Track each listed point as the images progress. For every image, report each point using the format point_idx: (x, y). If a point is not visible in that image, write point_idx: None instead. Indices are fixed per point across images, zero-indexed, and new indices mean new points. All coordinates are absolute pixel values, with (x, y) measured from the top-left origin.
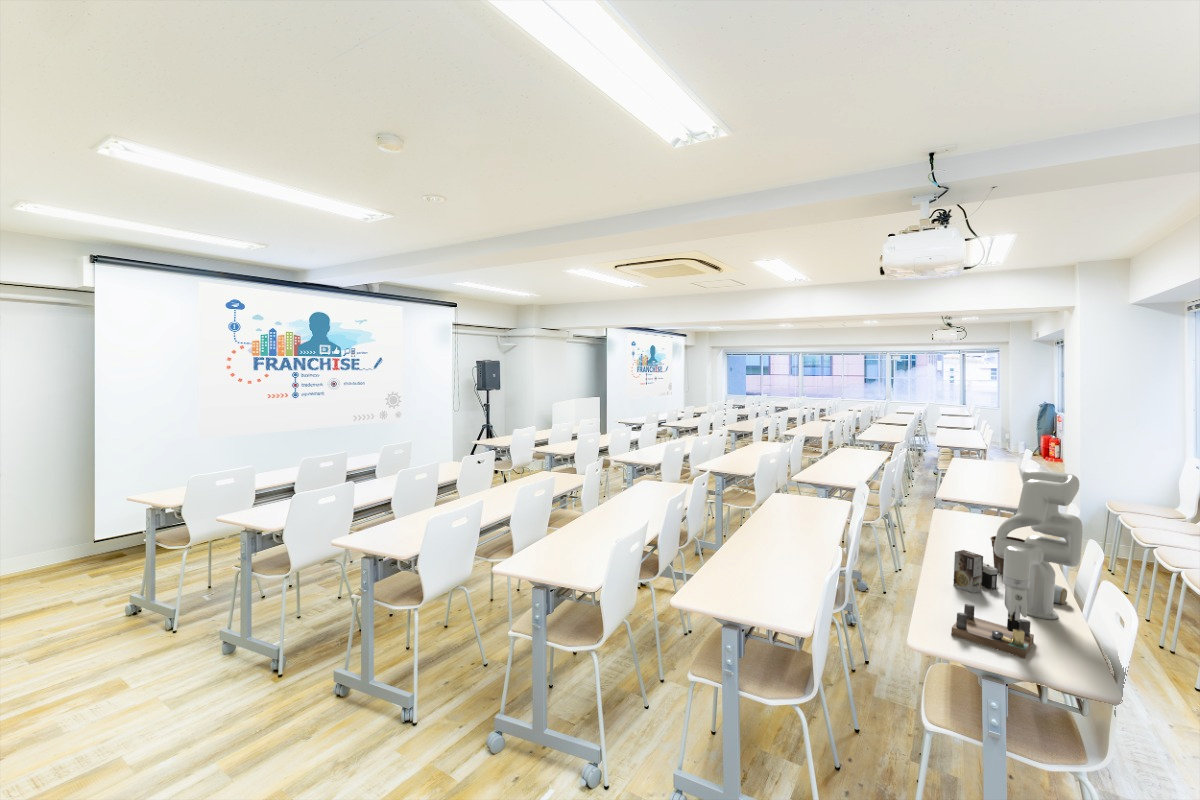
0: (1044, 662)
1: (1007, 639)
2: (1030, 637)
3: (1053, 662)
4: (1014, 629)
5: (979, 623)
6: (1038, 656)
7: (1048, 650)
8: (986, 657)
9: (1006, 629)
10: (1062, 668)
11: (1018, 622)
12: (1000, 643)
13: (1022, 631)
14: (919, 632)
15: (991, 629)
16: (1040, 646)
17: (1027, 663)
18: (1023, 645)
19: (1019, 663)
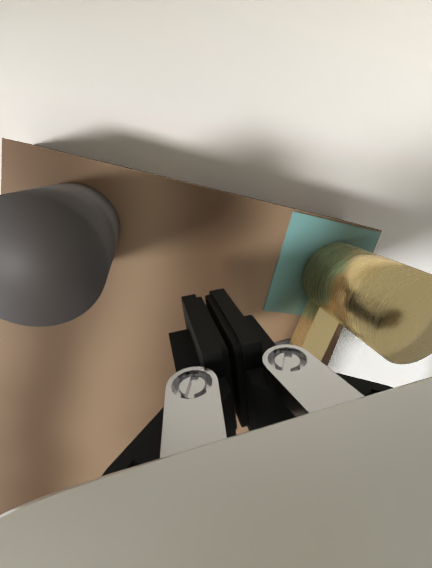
0: (345, 117)
1: (330, 337)
2: (112, 178)
3: (320, 52)
4: (405, 354)
5: (98, 476)
6: (275, 141)
7: (117, 41)
8: (397, 366)
9: (73, 343)
10: (385, 7)
11: (261, 346)
12: (326, 351)
13: (427, 295)
14: None
15: (154, 415)
16: (74, 96)
17: (392, 213)
18: (352, 245)
19: (405, 249)
